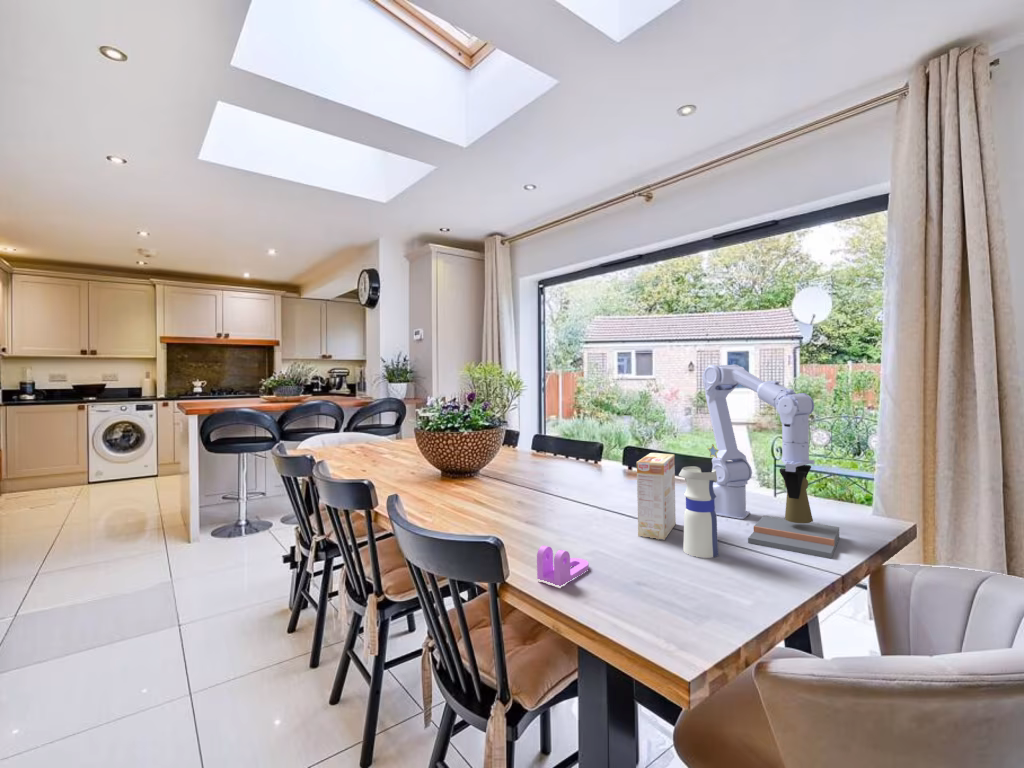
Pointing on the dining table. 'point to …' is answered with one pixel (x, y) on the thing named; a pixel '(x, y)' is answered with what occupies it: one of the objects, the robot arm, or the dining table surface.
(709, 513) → the white spray bottle
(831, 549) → the stepped stand
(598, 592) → the dining table surface
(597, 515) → the dining table surface
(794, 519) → the cork
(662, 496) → the coffeecake box
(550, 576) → the bracket
